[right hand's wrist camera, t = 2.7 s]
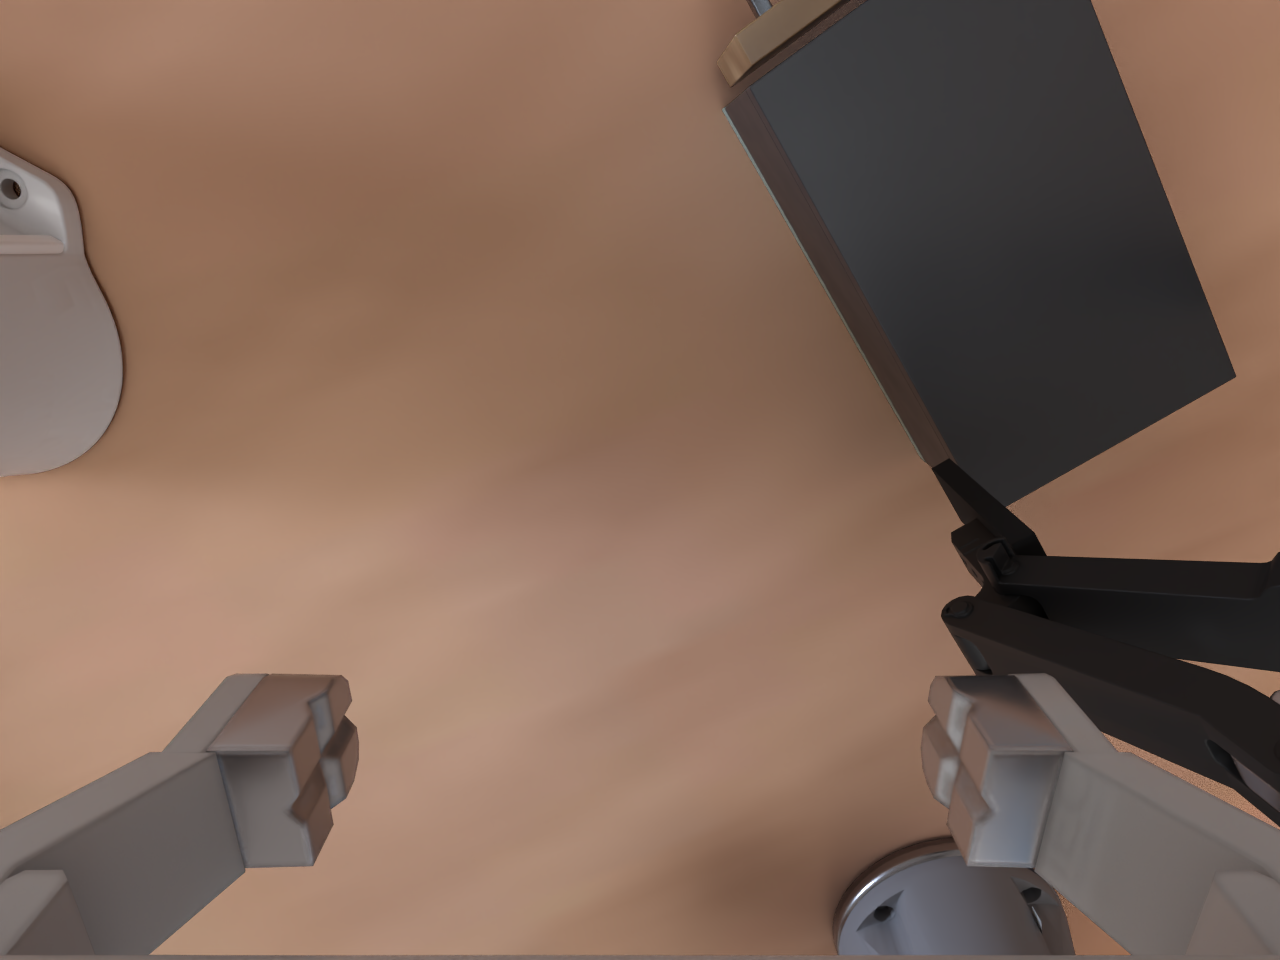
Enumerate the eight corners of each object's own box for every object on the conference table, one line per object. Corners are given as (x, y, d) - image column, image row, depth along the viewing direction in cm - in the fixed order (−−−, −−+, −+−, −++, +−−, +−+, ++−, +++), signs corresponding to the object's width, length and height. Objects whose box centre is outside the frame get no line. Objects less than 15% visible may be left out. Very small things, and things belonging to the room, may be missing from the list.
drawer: (645, -64, 30) (649, -121, 25) (859, -235, 29) (916, -339, 23) (912, 413, 38) (961, 451, 32) (1096, 301, 36) (1182, 322, 30)
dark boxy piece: (721, 109, 34) (748, 86, 26) (945, -54, 32) (1042, -129, 24) (920, 458, 40) (986, 518, 32) (1118, 340, 38) (1237, 376, 30)
